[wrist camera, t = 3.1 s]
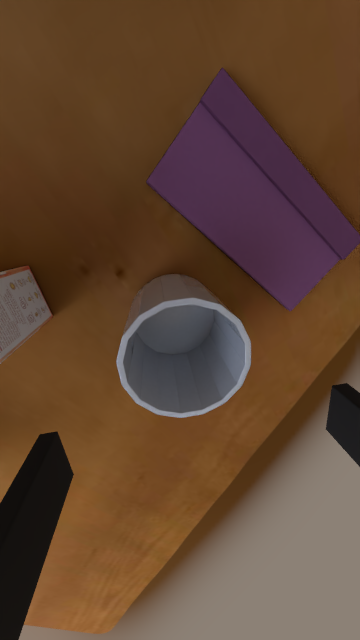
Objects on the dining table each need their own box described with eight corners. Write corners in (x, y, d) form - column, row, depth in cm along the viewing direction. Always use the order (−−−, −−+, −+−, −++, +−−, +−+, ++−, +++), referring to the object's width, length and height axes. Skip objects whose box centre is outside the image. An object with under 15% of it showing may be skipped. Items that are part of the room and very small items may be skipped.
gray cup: (138, 360, 27) (131, 426, 18) (122, 280, 24) (103, 309, 14) (218, 348, 28) (251, 406, 18) (213, 268, 24) (251, 289, 15)
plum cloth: (287, 309, 27) (293, 313, 26) (146, 183, 21) (145, 180, 20) (354, 238, 25) (364, 238, 24) (218, 76, 19) (223, 65, 18)
